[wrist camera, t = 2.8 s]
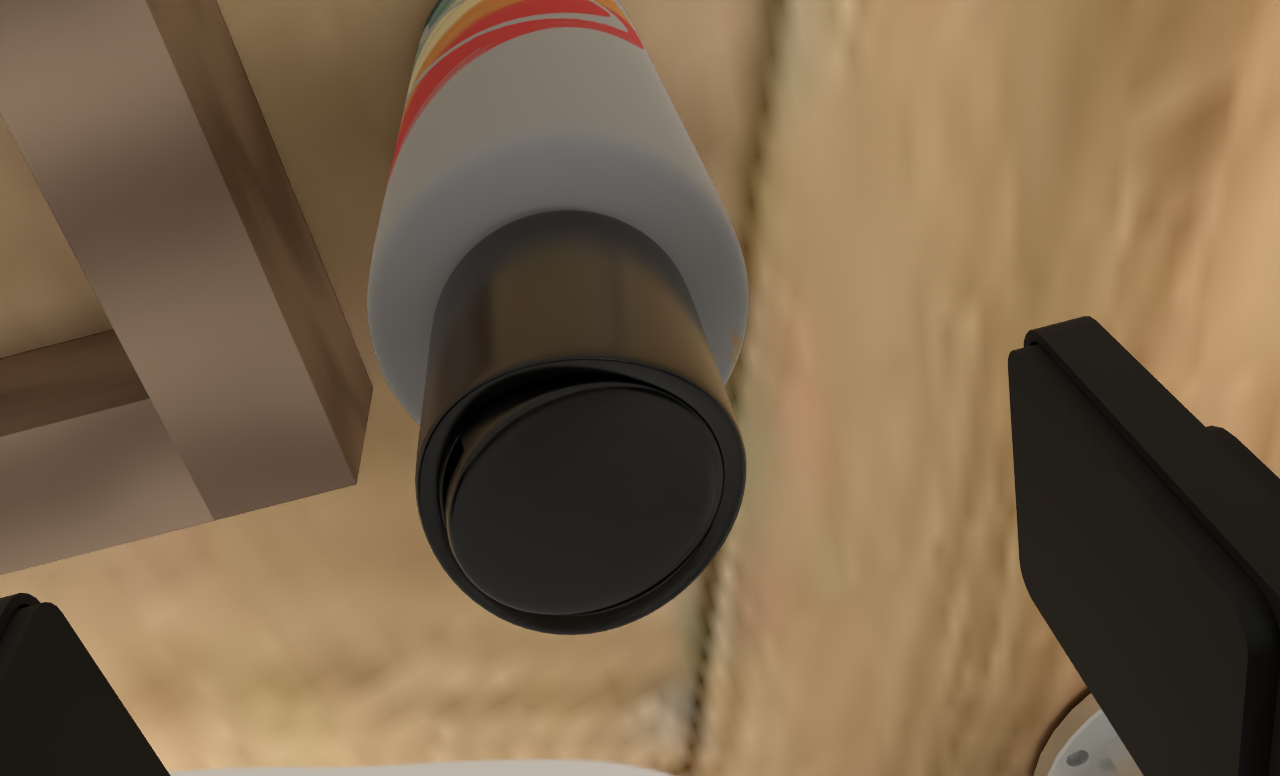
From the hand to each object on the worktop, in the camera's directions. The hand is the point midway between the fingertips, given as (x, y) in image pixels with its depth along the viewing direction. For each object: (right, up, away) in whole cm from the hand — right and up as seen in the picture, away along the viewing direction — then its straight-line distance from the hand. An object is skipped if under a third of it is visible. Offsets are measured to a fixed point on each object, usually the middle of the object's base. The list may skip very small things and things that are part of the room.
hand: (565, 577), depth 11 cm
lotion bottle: (-2, +10, +19) cm, 22 cm away
